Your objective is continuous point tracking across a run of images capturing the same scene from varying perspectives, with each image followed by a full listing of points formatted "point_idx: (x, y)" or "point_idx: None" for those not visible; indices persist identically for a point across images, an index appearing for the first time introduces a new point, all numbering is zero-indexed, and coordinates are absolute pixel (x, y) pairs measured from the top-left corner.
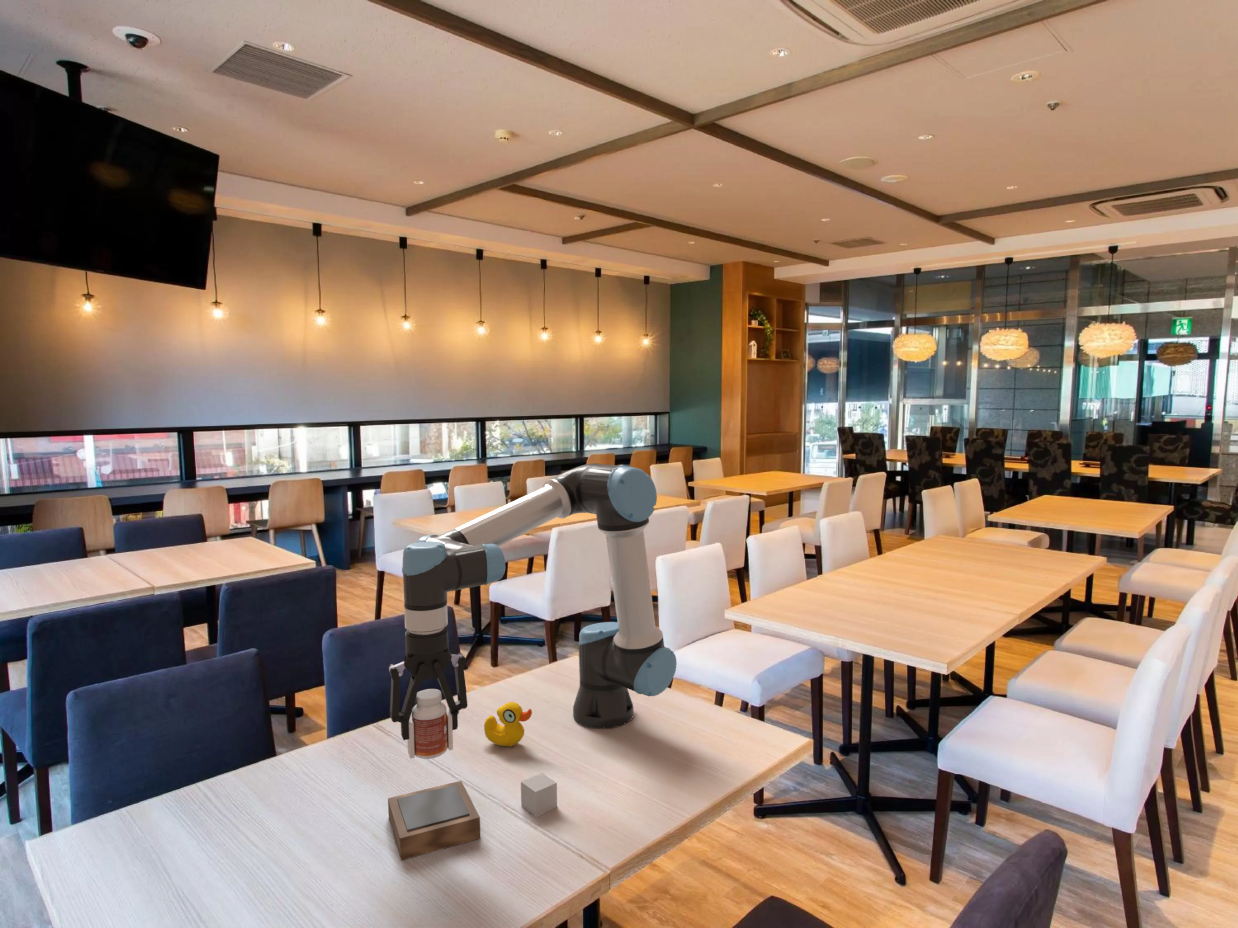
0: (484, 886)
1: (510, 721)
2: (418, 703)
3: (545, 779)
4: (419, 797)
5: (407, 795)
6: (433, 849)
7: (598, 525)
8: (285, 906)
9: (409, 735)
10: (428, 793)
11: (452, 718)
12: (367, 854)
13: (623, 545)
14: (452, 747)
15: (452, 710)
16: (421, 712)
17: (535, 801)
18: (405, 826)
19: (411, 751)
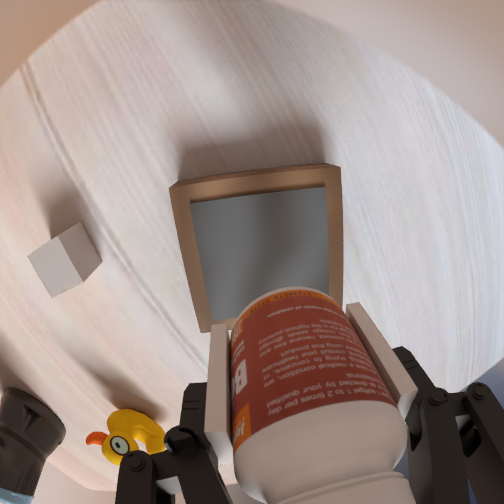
0: (190, 45)
1: (119, 437)
2: (408, 481)
3: (44, 273)
4: None
5: None
6: (268, 168)
7: None
8: (460, 131)
9: (393, 355)
10: None
11: (203, 421)
12: (372, 202)
13: None
14: (213, 328)
15: (200, 453)
16: (390, 437)
17: (67, 229)
18: (326, 205)
19: (364, 315)
